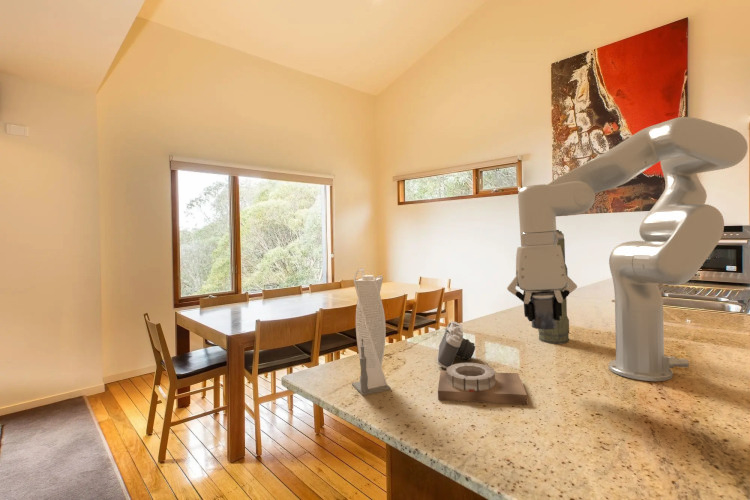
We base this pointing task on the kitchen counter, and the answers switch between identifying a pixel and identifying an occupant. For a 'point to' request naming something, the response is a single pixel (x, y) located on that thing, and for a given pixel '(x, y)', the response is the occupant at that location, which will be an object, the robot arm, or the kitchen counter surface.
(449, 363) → the camera
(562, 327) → the thermos
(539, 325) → the lens
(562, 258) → the robot arm
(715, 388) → the kitchen counter surface
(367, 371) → the skyscraper
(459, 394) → the mount board
